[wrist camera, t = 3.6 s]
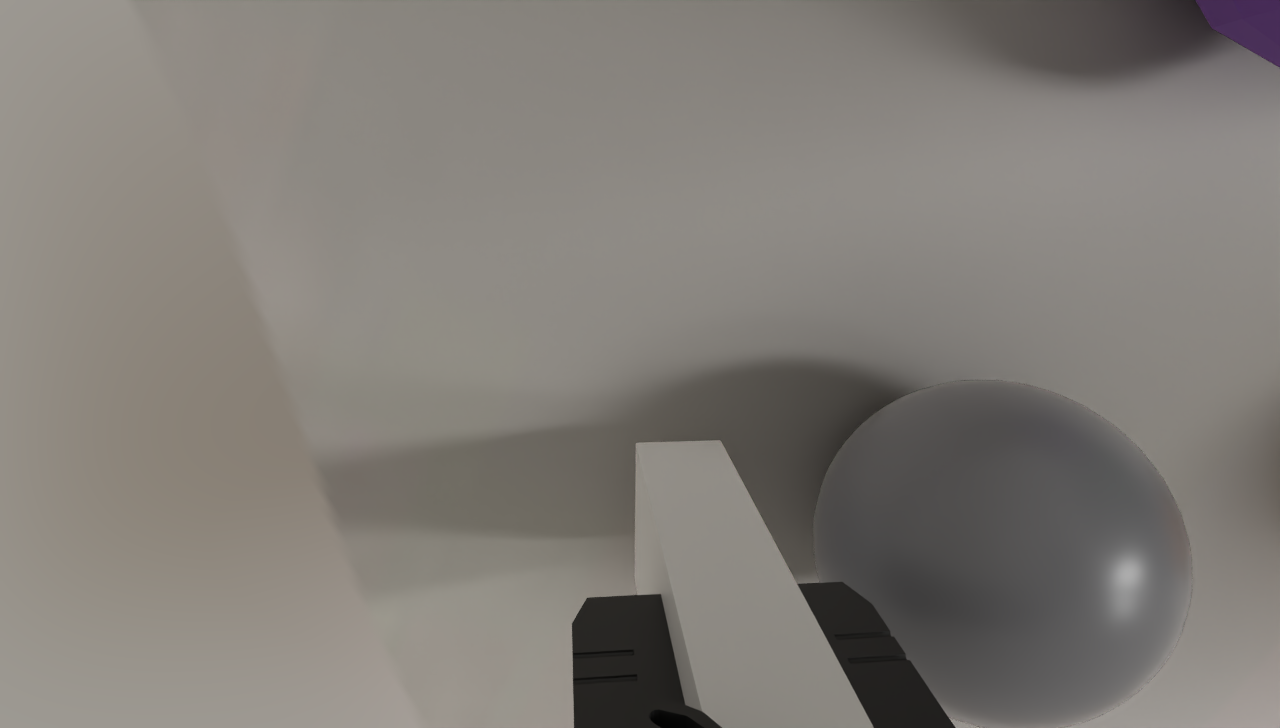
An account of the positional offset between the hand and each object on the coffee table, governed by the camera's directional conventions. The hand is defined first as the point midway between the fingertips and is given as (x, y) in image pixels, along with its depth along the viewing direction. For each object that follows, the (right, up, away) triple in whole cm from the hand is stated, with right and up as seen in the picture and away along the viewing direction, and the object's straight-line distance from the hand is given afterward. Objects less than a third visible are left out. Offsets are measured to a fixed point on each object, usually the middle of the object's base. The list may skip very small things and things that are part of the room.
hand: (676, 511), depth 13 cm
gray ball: (+5, 0, -1) cm, 5 cm away
